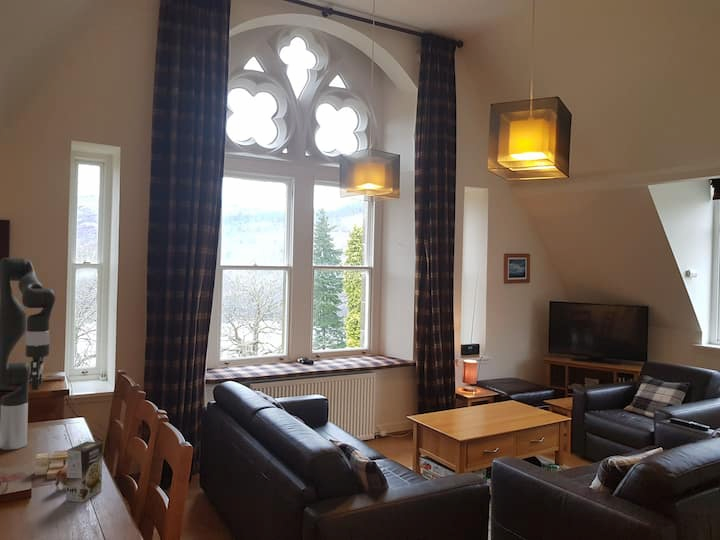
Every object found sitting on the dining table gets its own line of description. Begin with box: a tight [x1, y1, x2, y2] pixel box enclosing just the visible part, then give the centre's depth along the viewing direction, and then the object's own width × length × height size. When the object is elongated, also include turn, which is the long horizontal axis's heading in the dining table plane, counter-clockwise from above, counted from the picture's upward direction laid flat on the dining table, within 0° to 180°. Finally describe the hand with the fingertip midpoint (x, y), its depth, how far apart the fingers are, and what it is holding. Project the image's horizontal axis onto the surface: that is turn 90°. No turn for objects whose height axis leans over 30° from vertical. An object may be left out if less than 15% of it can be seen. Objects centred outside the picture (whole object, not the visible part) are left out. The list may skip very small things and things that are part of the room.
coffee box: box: [65, 441, 104, 503], centre depth 175 cm, size 9×6×16 cm
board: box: [46, 449, 68, 480], centre depth 199 cm, size 24×6×2 cm, turn 24°
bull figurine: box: [54, 467, 67, 492], centre depth 183 cm, size 4×13×8 cm, turn 161°
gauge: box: [34, 453, 68, 476], centre depth 194 cm, size 4×10×6 cm, turn 114°
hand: (36, 387), depth 201 cm, fingers open, 8 cm apart
